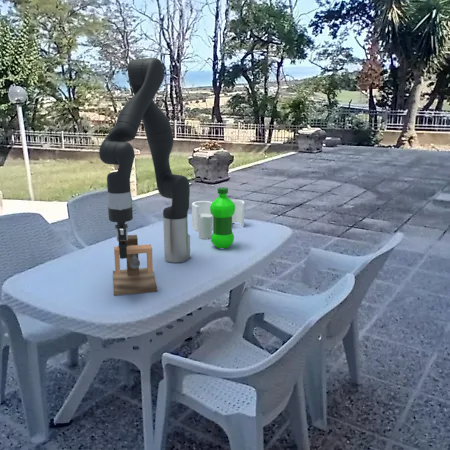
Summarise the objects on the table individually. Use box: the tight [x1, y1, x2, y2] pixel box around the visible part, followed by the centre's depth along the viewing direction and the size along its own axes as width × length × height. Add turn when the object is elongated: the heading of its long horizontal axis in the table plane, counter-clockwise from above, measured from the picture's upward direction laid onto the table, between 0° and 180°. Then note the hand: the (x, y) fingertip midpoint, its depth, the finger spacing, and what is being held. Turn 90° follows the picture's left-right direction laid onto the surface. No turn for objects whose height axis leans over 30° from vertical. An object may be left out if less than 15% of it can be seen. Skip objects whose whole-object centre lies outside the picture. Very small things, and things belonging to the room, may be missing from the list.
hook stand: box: [112, 234, 158, 296], centre depth 159 cm, size 24×14×15 cm, turn 14°
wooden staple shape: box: [113, 244, 154, 275], centre depth 157 cm, size 12×4×8 cm, turn 104°
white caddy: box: [191, 199, 245, 232], centre depth 226 cm, size 25×10×12 cm, turn 104°
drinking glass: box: [197, 214, 213, 240], centre depth 211 cm, size 7×7×10 cm
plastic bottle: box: [210, 186, 235, 249], centre depth 197 cm, size 10×10×25 cm
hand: (123, 253), depth 155 cm, fingers open, 8 cm apart
